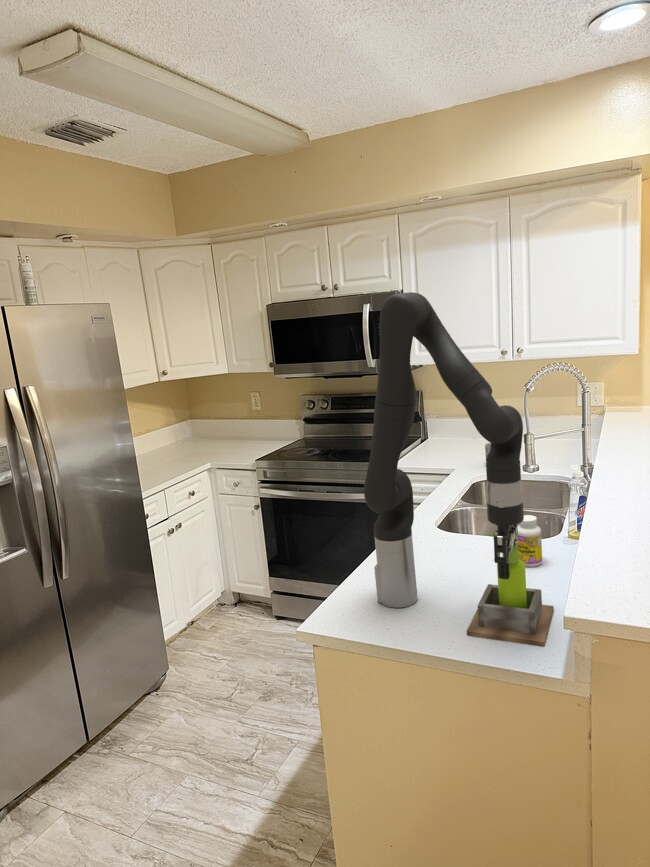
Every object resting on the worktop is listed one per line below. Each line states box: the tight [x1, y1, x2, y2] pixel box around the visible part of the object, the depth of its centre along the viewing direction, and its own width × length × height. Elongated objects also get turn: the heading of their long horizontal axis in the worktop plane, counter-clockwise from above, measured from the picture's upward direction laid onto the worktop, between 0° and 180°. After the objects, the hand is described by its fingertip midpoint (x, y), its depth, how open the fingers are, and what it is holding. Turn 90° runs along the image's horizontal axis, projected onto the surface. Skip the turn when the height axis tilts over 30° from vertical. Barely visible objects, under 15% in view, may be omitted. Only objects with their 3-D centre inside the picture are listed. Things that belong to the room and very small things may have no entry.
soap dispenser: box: [490, 531, 527, 609], centre depth 132 cm, size 6×7×20 cm
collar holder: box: [466, 583, 555, 647], centre depth 134 cm, size 16×16×6 cm
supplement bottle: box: [516, 514, 543, 568], centre depth 162 cm, size 7×7×13 cm
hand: (507, 570), depth 132 cm, fingers open, 8 cm apart
